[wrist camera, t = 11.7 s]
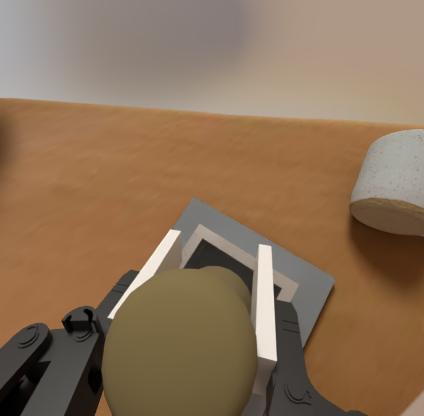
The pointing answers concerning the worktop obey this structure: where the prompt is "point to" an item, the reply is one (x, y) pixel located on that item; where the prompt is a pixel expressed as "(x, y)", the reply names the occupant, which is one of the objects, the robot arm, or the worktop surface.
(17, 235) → the worktop surface
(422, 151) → the ceramic mug
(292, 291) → the metal collar
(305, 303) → the base plate
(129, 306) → the cork
